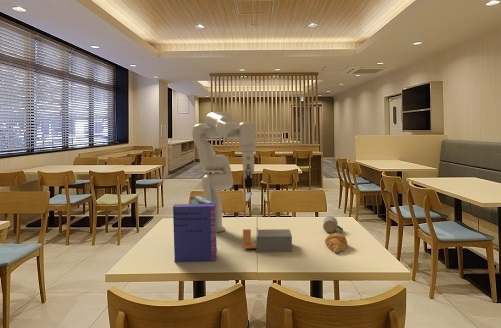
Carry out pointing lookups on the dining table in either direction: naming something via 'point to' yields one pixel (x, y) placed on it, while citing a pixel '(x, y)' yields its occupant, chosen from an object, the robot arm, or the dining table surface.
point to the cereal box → (195, 232)
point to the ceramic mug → (331, 225)
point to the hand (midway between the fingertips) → (248, 185)
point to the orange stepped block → (248, 239)
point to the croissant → (336, 242)
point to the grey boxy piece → (274, 240)
